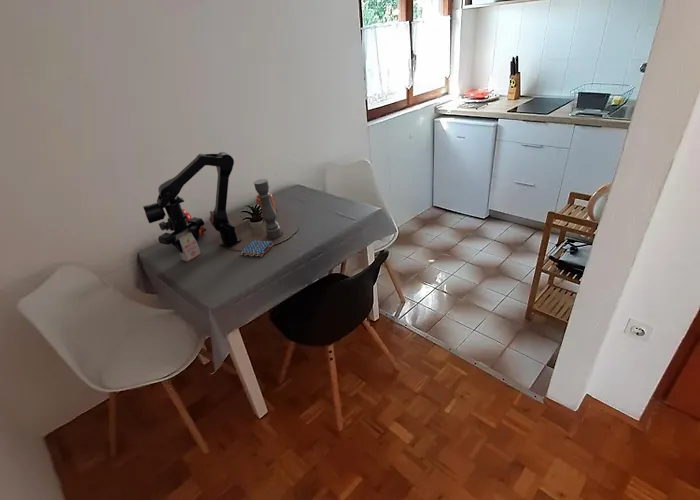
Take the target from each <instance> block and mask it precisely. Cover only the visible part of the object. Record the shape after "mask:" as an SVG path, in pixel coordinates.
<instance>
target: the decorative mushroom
mask: <svg viewBox="0 0 700 500" xmlns="http://www.w3.org/2000/svg"><path fill="white" fill-rule="evenodd" d="M182 211H183V213H184V215H186V216H187V218H185V219H186V222H188V220H190V219H192V215H191V214H190V213H189V212H188V211H187V210H185V209H184V208H182ZM187 234H189V231H188V230H186V231H185V232H183V233H181V234H180V238H181V237H183V236H185V235H187Z"/></svg>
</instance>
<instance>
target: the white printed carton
mask: <svg viewBox="0 0 700 500" xmlns="http://www.w3.org/2000/svg"><path fill="white" fill-rule="evenodd" d="M177 239H178V240H180V243H181V247H182V251H183V253H180V252H179V254H180V258H181V260H182V261H184V262H188V263H189V262H190V261H191V260H193V259H195V258H197V257H198V256H200V255H202V253H201V250H200V247H199V245H198V241H197V242H196V240H195V238H194V237H193V235H192V233H189V234H187V235H185V236H183V237H181V236H180V237H179V238H177Z"/></svg>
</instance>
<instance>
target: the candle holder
mask: <svg viewBox="0 0 700 500" xmlns="http://www.w3.org/2000/svg"><path fill="white" fill-rule="evenodd" d="M253 185H254V189H255V191H256V193H257V195H258V194H259V195H258V198H259V199H261V203H262V216H261V218H262V220H263V221H264V222H265V223H266V224H265V232H266V236H267V238H268V239H270V240H271V239H277V238H279V237H281V236H282V231H281V226H280V225H279V222H278V221H277V217H278V215H277V211H276V212H275V210H274V208H273V206H272V204H271V201H270V196H271V195H270V193H271V192H269V190H270V185H269V181H268V178H259V179H256V180H255V181H253ZM268 192H269V193H268Z"/></svg>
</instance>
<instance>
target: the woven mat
mask: <svg viewBox="0 0 700 500" xmlns="http://www.w3.org/2000/svg"><path fill="white" fill-rule="evenodd" d="M273 246H274V242H273V241H270V240H255V239H254V240H250V242H248V244H246V246H244V248H241V249H242V250H239V252H240V255H241V256H242V255H243V256H249V257H254V256H255V257H260V258H262V257H263V256H264V254H266V253H267V252H269V250H270V248H272V247H273Z"/></svg>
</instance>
